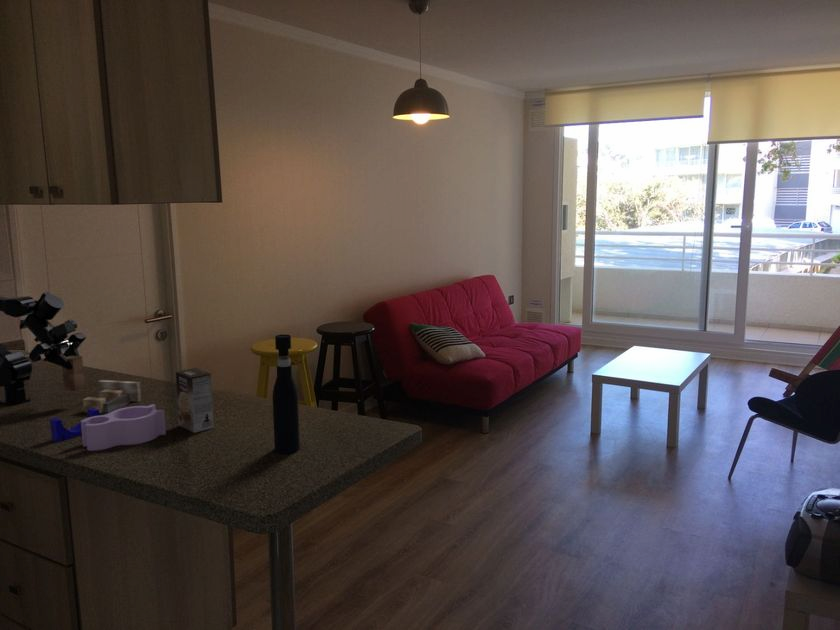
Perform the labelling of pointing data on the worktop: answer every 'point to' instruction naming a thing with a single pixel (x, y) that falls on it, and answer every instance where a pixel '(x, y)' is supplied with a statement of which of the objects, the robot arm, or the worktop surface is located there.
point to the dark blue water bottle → (285, 401)
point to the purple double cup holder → (123, 427)
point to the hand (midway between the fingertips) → (76, 366)
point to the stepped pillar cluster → (113, 396)
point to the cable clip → (63, 434)
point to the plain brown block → (74, 374)
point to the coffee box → (194, 399)
